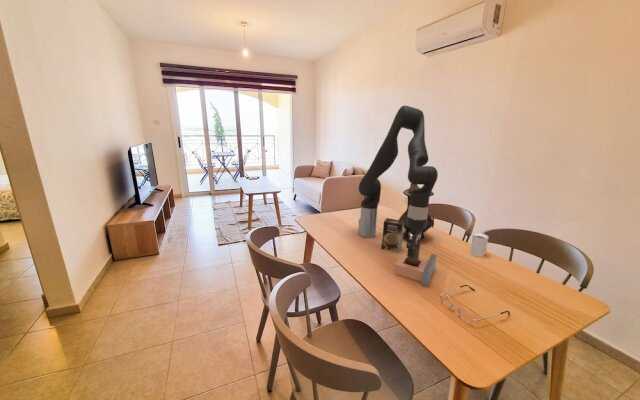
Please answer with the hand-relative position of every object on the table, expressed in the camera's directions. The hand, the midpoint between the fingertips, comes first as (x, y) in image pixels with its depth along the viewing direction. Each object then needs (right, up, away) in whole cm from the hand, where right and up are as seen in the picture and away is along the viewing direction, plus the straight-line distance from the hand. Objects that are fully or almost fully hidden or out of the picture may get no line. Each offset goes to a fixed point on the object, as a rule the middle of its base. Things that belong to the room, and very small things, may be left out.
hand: (412, 252), depth 109 cm
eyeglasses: (+15, -16, -17) cm, 28 cm away
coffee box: (-2, -4, +24) cm, 24 cm away
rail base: (-1, -10, +4) cm, 10 cm away
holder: (0, -9, +2) cm, 9 cm away
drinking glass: (+39, -5, +21) cm, 45 cm away
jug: (+15, +1, +42) cm, 44 cm away
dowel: (0, -8, +2) cm, 8 cm away
